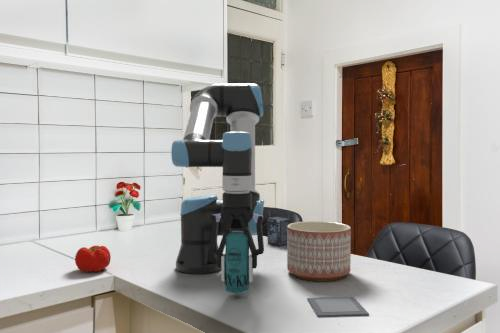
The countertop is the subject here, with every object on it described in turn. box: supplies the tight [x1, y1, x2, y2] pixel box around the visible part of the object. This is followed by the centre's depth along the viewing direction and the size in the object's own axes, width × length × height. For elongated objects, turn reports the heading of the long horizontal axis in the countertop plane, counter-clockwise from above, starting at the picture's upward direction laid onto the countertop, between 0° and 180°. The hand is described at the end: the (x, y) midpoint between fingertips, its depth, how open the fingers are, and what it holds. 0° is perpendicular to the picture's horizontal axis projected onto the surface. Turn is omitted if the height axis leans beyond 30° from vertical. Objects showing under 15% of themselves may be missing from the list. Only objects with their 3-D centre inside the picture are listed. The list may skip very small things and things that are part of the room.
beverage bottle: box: [224, 220, 251, 294], centre depth 116 cm, size 6×7×20 cm
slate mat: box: [306, 296, 370, 318], centre depth 109 cm, size 12×12×1 cm
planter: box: [286, 220, 352, 282], centre depth 137 cm, size 19×19×15 cm
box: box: [267, 216, 291, 247], centre depth 181 cm, size 8×6×11 cm
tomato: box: [74, 245, 112, 273], centre depth 142 cm, size 11×11×8 cm
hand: (237, 279), depth 116 cm, fingers closed on beverage bottle, 6 cm apart
